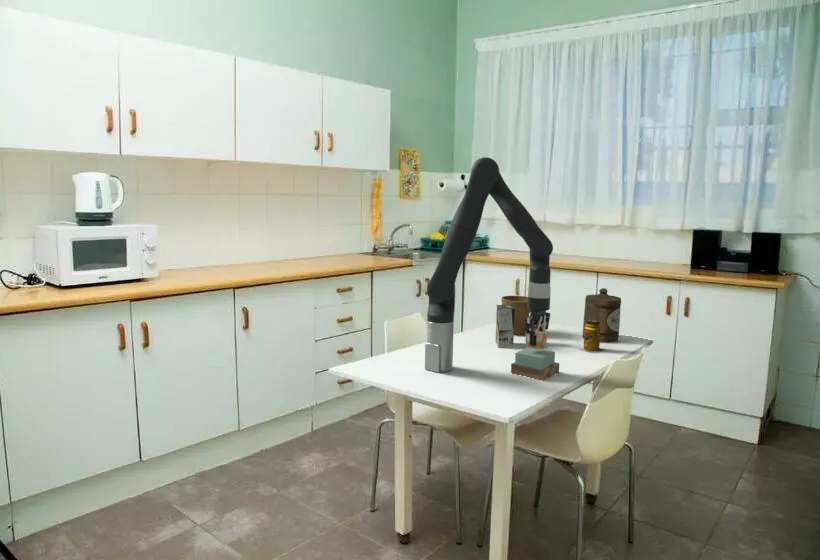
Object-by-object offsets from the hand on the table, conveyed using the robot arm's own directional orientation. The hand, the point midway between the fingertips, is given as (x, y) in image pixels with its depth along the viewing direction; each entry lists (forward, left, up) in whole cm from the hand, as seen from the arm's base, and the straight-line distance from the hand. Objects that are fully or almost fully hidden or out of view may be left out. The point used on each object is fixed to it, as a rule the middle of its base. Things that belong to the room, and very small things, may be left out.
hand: (536, 344), depth 204 cm
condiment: (+44, -2, -11) cm, 45 cm away
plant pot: (+47, +34, -11) cm, 59 cm away
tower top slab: (0, 0, -7) cm, 7 cm away
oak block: (0, 0, -1) cm, 1 cm away
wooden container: (+64, +3, -11) cm, 65 cm away
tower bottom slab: (0, 0, -11) cm, 11 cm away
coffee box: (+26, +28, -11) cm, 40 cm away
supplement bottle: (+36, +20, -11) cm, 43 cm away
